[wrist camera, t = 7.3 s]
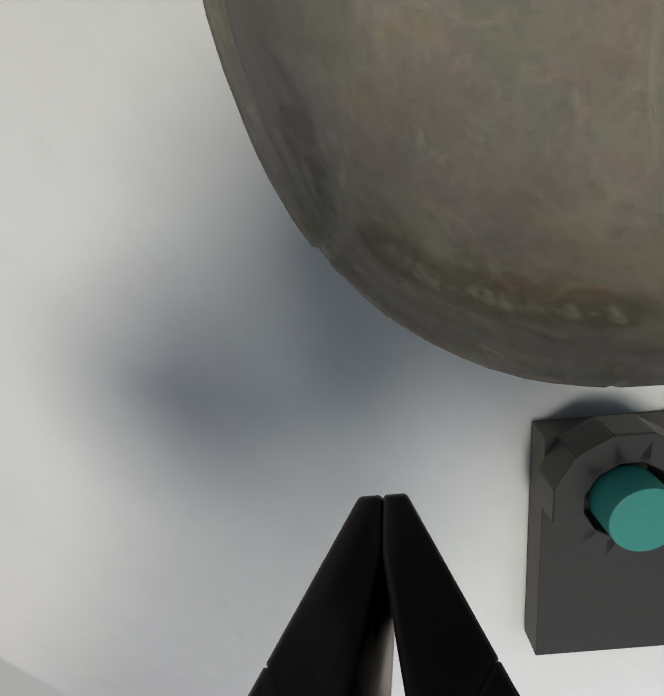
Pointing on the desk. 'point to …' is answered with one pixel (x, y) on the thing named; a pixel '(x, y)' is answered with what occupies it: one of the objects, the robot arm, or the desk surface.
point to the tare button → (630, 507)
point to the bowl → (473, 167)
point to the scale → (589, 539)
